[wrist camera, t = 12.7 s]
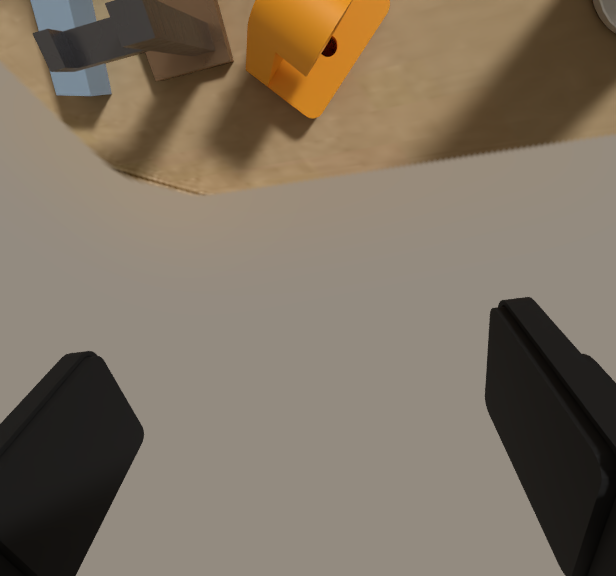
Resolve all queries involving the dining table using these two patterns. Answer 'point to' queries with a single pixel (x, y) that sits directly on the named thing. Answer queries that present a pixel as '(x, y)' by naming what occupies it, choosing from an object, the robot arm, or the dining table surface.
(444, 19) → the dining table surface
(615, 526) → the robot arm
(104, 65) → the rail
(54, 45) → the stand
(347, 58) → the bracket
